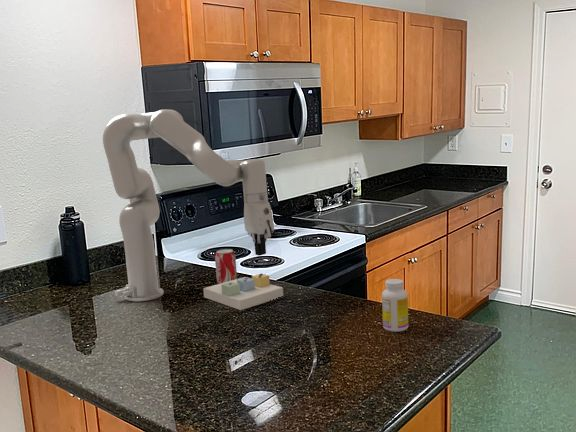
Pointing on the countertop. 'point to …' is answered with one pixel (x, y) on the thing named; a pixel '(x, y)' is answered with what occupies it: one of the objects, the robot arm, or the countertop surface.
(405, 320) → the supplement bottle
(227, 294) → the tile one pip
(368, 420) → the countertop surface
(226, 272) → the soda can
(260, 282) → the tile three pip
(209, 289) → the keypad board
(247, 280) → the tile two pip
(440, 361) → the countertop surface
